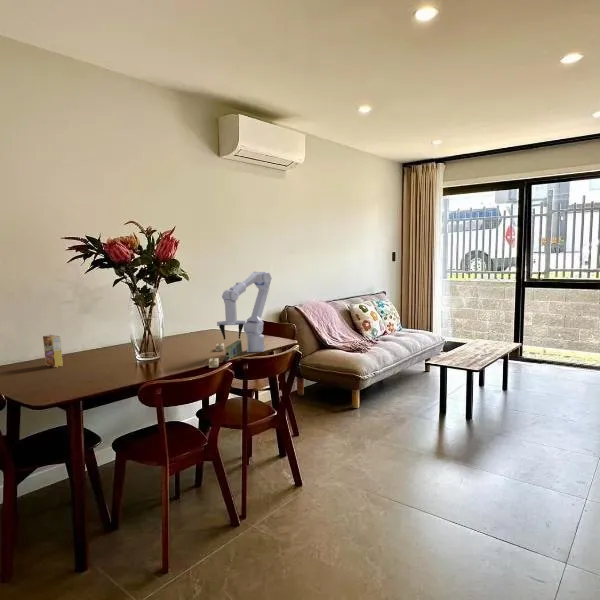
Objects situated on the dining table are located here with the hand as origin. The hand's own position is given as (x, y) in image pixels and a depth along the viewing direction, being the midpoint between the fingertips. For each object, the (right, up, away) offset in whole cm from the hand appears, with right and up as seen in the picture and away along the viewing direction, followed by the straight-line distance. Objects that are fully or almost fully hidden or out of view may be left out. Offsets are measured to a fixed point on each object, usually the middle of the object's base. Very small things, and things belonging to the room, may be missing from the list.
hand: (232, 338), depth 237 cm
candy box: (-87, -13, -10) cm, 89 cm away
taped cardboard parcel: (-8, -10, 0) cm, 12 cm away
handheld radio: (0, -10, +1) cm, 10 cm away
